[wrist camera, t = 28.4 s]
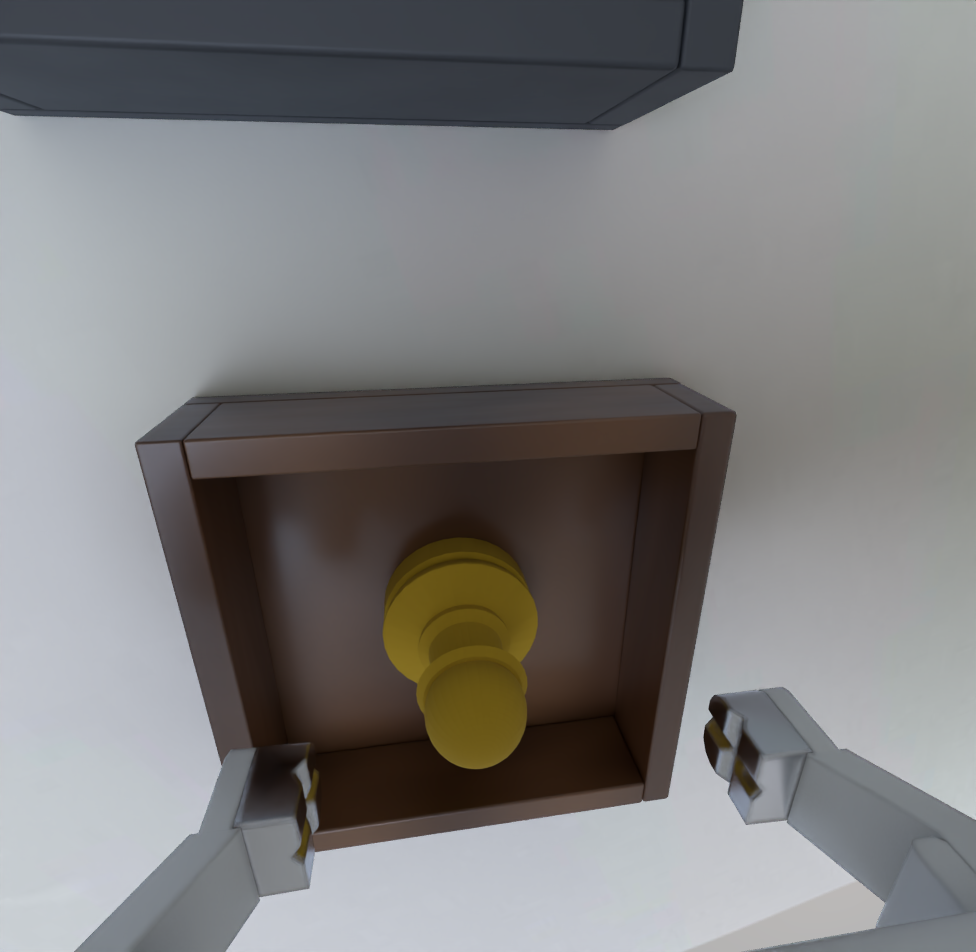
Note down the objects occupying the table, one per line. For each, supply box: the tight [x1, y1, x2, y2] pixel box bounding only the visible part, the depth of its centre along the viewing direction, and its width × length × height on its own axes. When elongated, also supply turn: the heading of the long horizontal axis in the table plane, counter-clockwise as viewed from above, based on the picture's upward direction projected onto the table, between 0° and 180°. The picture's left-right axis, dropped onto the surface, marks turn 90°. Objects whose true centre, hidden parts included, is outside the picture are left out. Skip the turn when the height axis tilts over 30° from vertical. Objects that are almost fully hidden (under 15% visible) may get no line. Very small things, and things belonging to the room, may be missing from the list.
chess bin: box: [135, 378, 736, 852], centre depth 14 cm, size 12×12×3 cm
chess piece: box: [383, 537, 538, 769], centre depth 13 cm, size 4×4×5 cm
